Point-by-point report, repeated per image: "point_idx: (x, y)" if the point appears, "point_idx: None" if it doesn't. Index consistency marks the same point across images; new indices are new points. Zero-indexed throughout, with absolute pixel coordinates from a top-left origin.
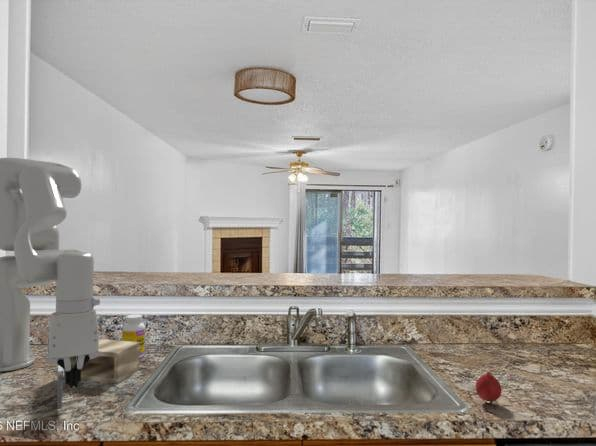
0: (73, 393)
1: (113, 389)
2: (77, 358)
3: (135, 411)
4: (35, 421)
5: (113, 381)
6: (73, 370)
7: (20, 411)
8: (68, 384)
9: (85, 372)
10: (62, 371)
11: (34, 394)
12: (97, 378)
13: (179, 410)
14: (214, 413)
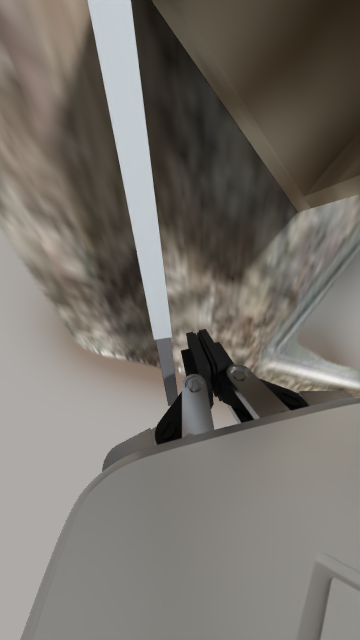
0: (186, 246)
1: (273, 256)
2: (248, 404)
3: (270, 363)
4: (135, 361)
5: (294, 199)
6: (211, 375)
7: (89, 316)
8: (186, 335)
9: (238, 3)
10: (170, 335)
11: (74, 204)
12: (263, 146)
13: (314, 372)
14: (336, 385)
